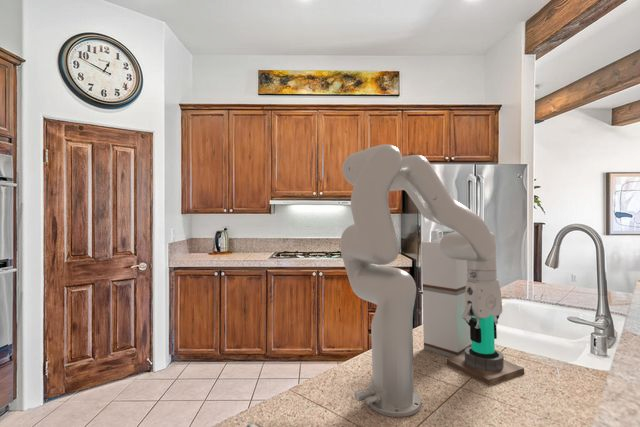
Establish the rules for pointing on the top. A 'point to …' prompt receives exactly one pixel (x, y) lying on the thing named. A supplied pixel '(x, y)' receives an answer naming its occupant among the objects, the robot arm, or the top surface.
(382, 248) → the robot arm
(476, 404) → the top surface
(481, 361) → the candle stand
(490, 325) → the candle
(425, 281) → the tall banded pillar
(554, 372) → the top surface
